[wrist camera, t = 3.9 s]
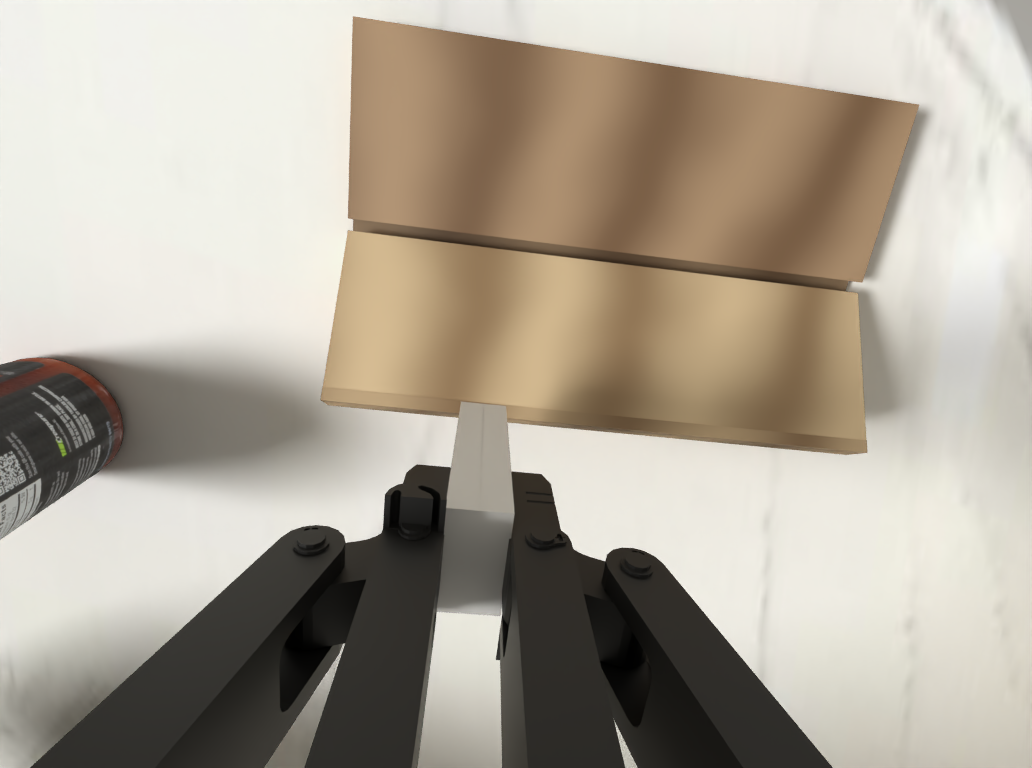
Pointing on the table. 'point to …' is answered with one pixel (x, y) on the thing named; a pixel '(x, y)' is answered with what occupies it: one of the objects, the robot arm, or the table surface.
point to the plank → (595, 346)
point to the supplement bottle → (50, 435)
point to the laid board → (615, 158)
